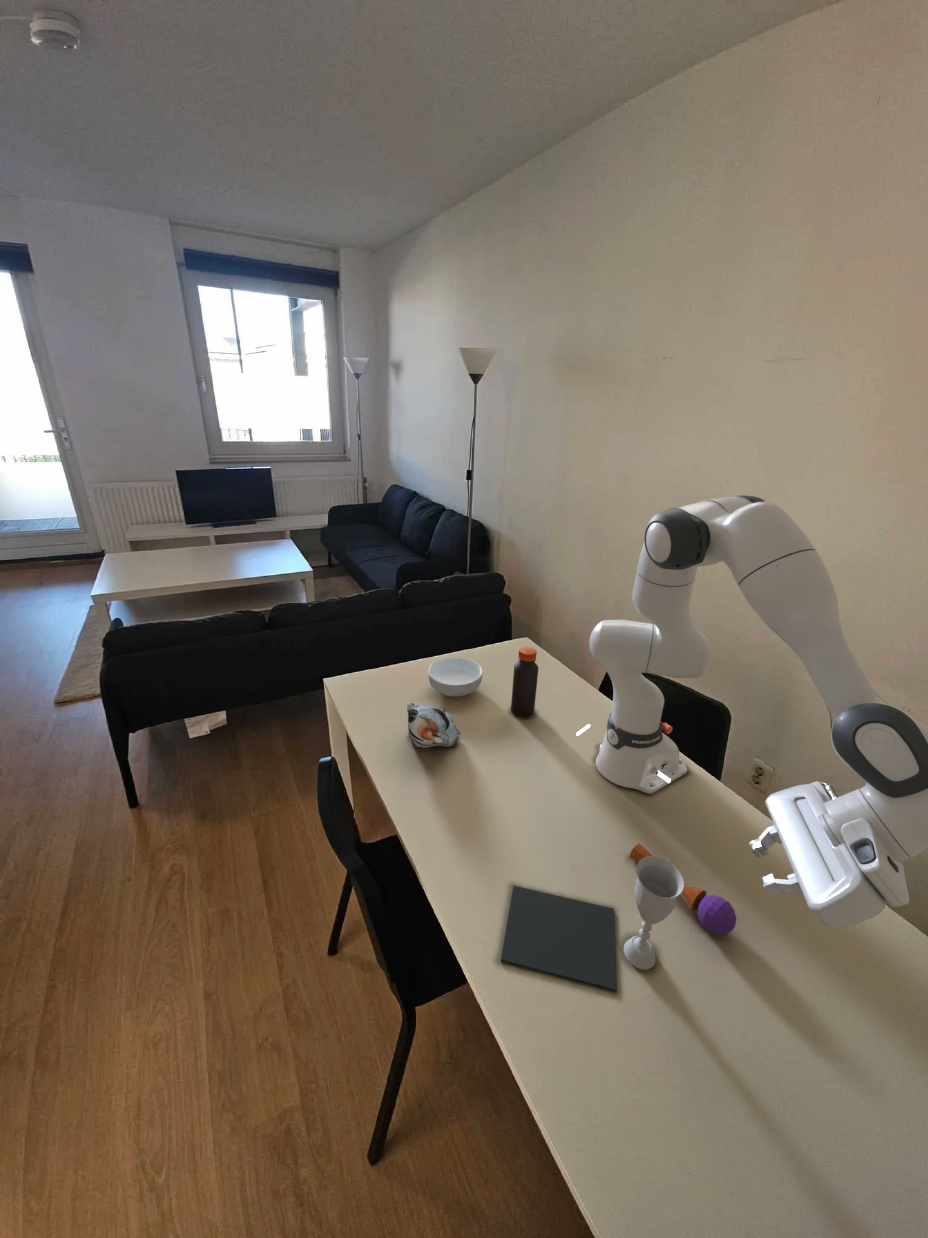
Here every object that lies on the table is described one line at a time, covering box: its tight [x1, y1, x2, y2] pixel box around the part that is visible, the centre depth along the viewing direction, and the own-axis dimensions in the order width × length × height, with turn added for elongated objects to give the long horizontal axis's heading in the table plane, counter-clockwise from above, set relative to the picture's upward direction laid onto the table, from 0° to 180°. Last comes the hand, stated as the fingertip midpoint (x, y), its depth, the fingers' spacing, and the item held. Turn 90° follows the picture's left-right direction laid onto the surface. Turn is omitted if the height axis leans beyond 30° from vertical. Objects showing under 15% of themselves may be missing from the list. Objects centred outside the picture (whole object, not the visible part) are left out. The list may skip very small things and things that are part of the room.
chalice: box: [623, 855, 685, 971], centre depth 80 cm, size 7×7×18 cm
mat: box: [500, 885, 617, 992], centre depth 86 cm, size 18×14×1 cm
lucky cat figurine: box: [406, 702, 461, 749], centre depth 130 cm, size 15×12×14 cm
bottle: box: [510, 646, 539, 719], centre depth 143 cm, size 7×7×20 cm
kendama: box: [629, 843, 737, 936], centre depth 92 cm, size 6×6×20 cm
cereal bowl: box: [427, 656, 483, 697], centre depth 156 cm, size 17×17×7 cm
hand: (758, 868), depth 71 cm, fingers open, 5 cm apart
